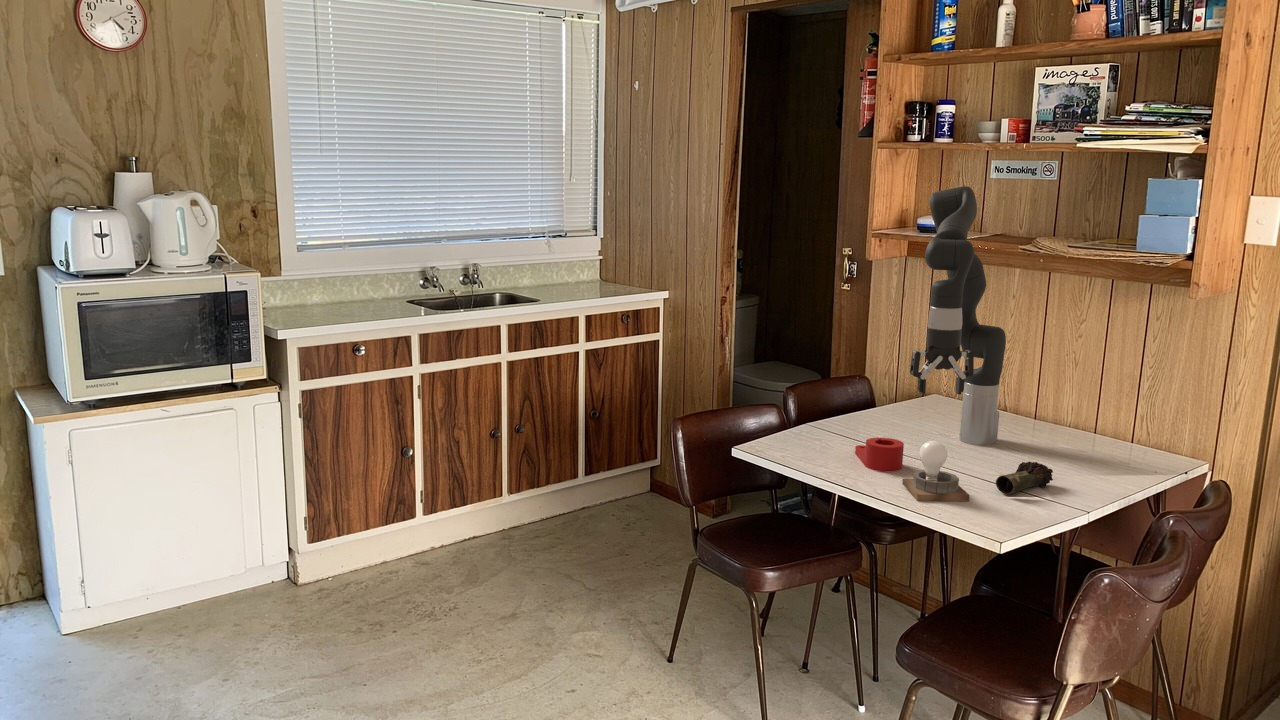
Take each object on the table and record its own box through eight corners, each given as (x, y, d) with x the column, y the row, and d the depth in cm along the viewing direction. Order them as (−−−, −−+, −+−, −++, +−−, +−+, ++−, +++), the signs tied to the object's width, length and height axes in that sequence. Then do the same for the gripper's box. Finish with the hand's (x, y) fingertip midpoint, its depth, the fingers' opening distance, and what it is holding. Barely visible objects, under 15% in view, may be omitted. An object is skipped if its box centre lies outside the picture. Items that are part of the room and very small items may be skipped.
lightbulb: (948, 490, 225) (951, 444, 223) (921, 489, 225) (924, 443, 223) (940, 483, 231) (943, 438, 230) (913, 482, 231) (916, 437, 230)
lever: (909, 471, 245) (910, 446, 244) (875, 473, 243) (877, 448, 242) (874, 452, 262) (875, 428, 261) (842, 454, 260) (844, 430, 259)
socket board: (951, 484, 235) (952, 469, 234) (968, 501, 223) (970, 484, 222) (902, 484, 234) (903, 468, 234) (917, 500, 223) (918, 484, 222)
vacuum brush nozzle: (1012, 497, 224) (1015, 474, 223) (987, 488, 230) (990, 466, 229) (1055, 486, 234) (1059, 464, 233) (1030, 479, 240) (1034, 457, 239)
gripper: (969, 323, 228) (964, 390, 231) (909, 323, 227) (905, 390, 230) (981, 328, 220) (976, 397, 224) (919, 328, 220) (915, 398, 223)
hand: (940, 394), depth 227 cm, fingers open, 8 cm apart
